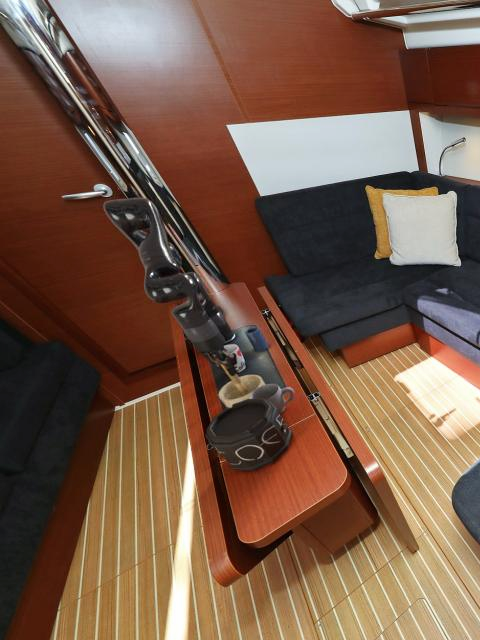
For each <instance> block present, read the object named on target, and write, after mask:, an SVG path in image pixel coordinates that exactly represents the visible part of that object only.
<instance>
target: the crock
mask: <svg viewBox="0 0 480 640" xmlns="http://www.w3.org/2000/svg"><path fill="white" fill-rule="evenodd" d="M244 334H245V336H246V338H247V340H248V341H249V342H250V345H251V346H252V348H253V349H254V351H255V352H258V353H260V352H263V351H266V350H267V349H269V347H270V346H269V344H268V342H267V340H266V337H265V336H264V334H263V333H262V331H261V329H260V328H259V326H252V327H248V328H247V329H245V330H244Z"/></svg>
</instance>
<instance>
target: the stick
mask: <svg viewBox="0 0 480 640" xmlns="http://www.w3.org/2000/svg"><path fill="white" fill-rule="evenodd" d="M226 364H227V362H226ZM220 365H221V366H222V368H223V369H224V370H225V372H226V373H227V375H226V376H228V378H229V379H230V380H231V381H232V382H233V383H234V384H235V386H236V387H237V389H238V390H239V391H240V393H241V394H242V396H246V395H248V394H250V393H249V391H248V390H247V388H246V387H245V385H244V384H243V382H242V381H241V380H240V378H239V377H240V376H239V375H238V373H237V374H236V375H235V376H231V375H230V374H229V373H228V371H227V370H226V368H225V367H224V366H223V365H222V364H220Z"/></svg>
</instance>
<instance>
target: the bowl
mask: <svg viewBox="0 0 480 640" xmlns="http://www.w3.org/2000/svg"><path fill="white" fill-rule="evenodd" d="M238 377H239V378H240V380H241V381H242V382H243V384H244V385H245V387H246V388H247V390H248V391H249V393H250V394H248V395H246V396H242V394H241V393H240V391H239V390H238V389H237V387H236V386H235V384H234V383H233V382H232V380H231V381H229V382H227V383H226V384H224V385H223V386H222V387H221V388H220V390H219V391H218V398H219V399H220V401H221V402H222V403H223V405H224V406H225V408H227V407H232V404H235V403H238V402H241V401H244V400H247V399H250V395H251V393H252V392H253V391H254V390H255V389H257V388H258V387H260V386H263V385H266V384H267V383H265V381H264V379H263V378H262V376H260V375H258V374H245V375H242V376H238Z"/></svg>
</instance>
